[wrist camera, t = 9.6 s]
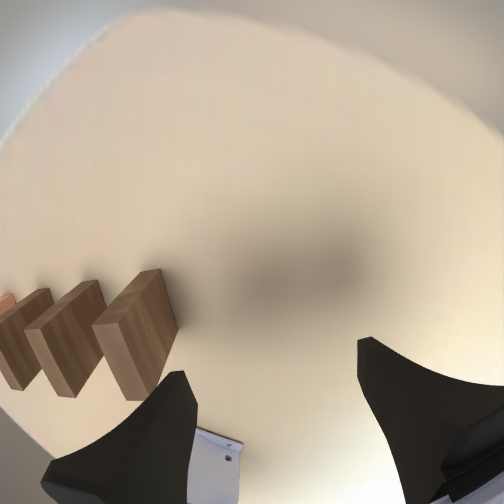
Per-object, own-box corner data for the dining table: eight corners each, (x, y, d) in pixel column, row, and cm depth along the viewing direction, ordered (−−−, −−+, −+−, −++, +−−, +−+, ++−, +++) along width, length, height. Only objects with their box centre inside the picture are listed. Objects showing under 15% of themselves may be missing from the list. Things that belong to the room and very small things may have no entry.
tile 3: (48, 287, 21) (-9, 330, 13) (68, 338, 22) (23, 391, 14) (37, 289, 21) (-20, 330, 13) (56, 339, 22) (11, 389, 14)
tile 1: (160, 268, 20) (117, 323, 13) (178, 329, 22) (151, 400, 14) (140, 272, 20) (91, 325, 13) (159, 331, 22) (126, 400, 14)
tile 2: (97, 279, 20) (39, 328, 13) (117, 335, 22) (75, 397, 14) (81, 282, 20) (23, 329, 13) (101, 336, 22) (58, 396, 14)
